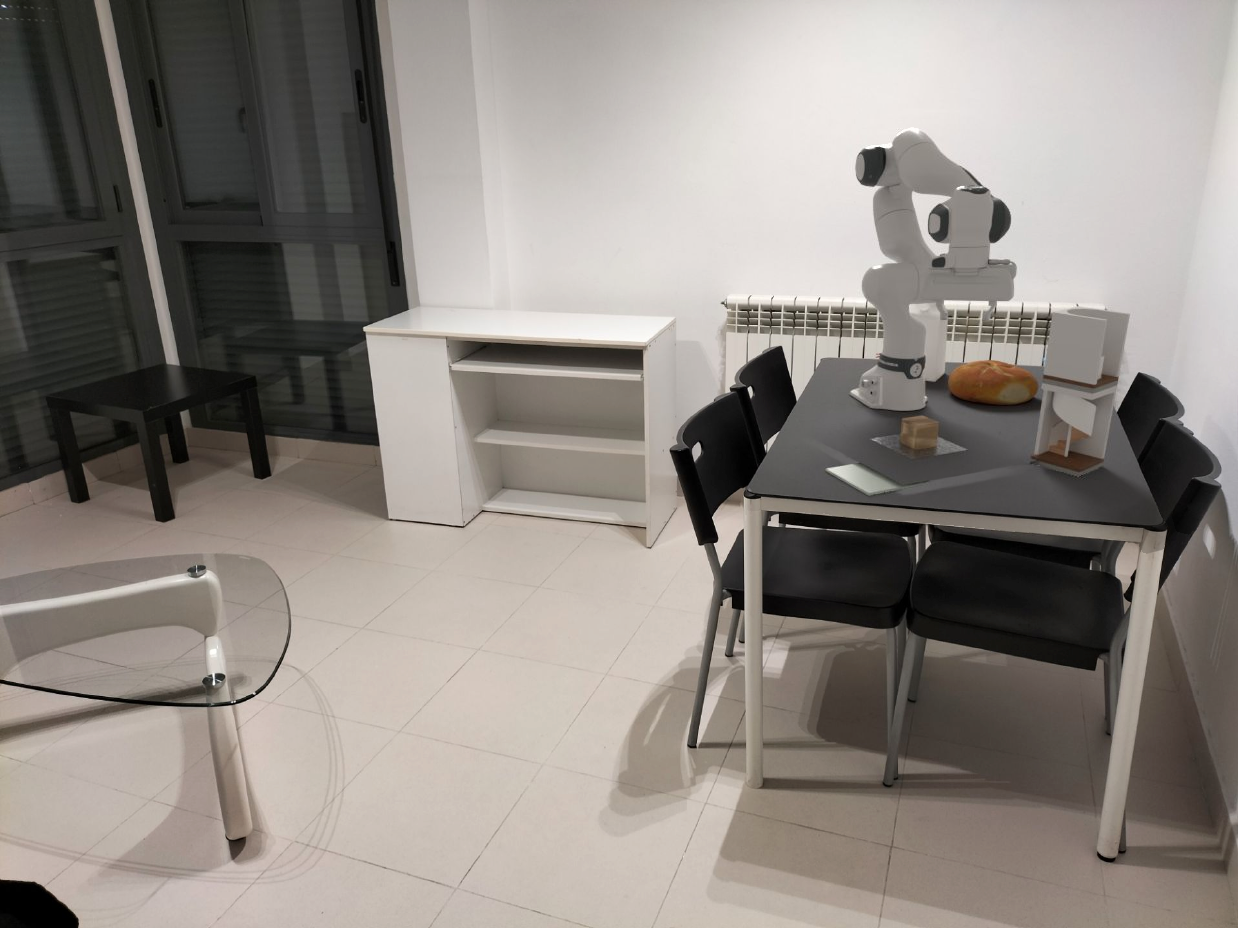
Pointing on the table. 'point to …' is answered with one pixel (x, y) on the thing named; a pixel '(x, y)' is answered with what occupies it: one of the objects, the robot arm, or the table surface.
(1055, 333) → the white tall layered tower
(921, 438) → the oak block
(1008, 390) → the bread
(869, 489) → the sage mat
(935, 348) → the milk
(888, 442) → the post mount
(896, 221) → the robot arm
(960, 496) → the table surface
